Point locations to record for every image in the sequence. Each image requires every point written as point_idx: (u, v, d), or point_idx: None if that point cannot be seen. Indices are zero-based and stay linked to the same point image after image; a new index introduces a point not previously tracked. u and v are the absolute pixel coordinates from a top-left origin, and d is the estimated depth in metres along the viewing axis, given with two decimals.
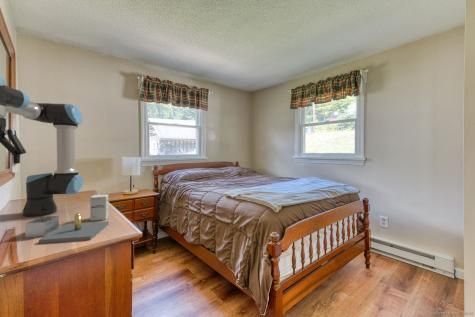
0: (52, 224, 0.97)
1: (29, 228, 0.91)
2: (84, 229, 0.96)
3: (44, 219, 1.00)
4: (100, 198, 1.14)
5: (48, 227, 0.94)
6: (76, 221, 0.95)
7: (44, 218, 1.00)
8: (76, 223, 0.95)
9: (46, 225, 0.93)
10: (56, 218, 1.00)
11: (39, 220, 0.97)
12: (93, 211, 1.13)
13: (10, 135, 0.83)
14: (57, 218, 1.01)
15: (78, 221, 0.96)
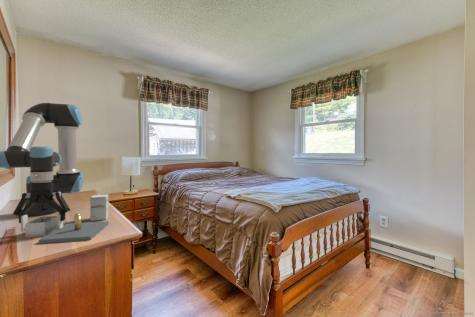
0: (52, 224, 0.97)
1: (29, 228, 0.91)
2: (84, 229, 0.96)
3: (44, 219, 1.00)
4: (100, 198, 1.14)
5: (48, 227, 0.94)
6: (76, 221, 0.95)
7: (44, 218, 1.00)
8: (76, 223, 0.95)
9: (46, 225, 0.93)
10: (56, 218, 1.00)
11: (39, 220, 0.97)
12: (93, 211, 1.13)
13: (58, 197, 0.96)
14: (57, 218, 1.01)
15: (78, 221, 0.96)
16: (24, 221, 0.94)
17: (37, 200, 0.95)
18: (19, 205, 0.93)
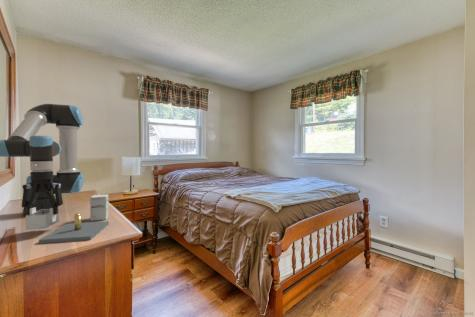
0: None
1: (29, 220, 0.91)
2: (84, 229, 0.96)
3: (44, 211, 1.00)
4: (100, 198, 1.14)
5: (48, 220, 0.95)
6: (76, 221, 0.95)
7: (44, 210, 1.00)
8: (76, 223, 0.95)
9: (47, 218, 0.94)
10: None
11: (39, 212, 0.98)
12: (93, 211, 1.13)
13: (56, 189, 0.96)
14: None
15: (78, 221, 0.96)
16: None
17: (37, 189, 0.95)
18: (24, 197, 0.94)
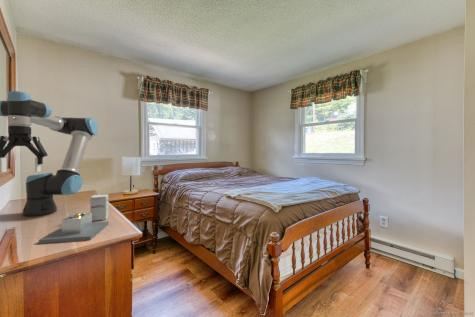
0: (86, 221, 0.98)
1: (65, 224, 0.91)
2: None
3: None
4: (100, 198, 1.14)
5: (83, 224, 0.95)
6: None
7: None
8: None
9: (82, 222, 0.94)
10: (90, 215, 1.00)
11: None
12: (93, 211, 1.13)
13: (35, 141, 1.01)
14: (90, 215, 1.01)
15: None
16: (3, 163, 0.99)
17: (15, 143, 0.99)
18: None
